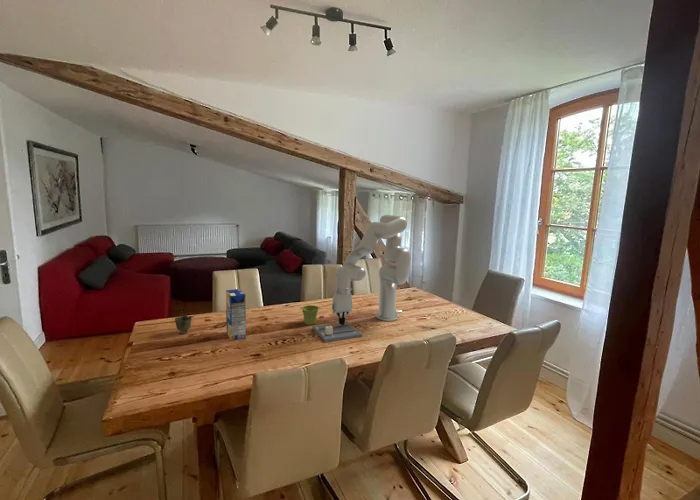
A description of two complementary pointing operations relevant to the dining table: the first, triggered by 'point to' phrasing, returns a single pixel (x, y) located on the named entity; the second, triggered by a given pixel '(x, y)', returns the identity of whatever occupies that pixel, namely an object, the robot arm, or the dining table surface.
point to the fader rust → (332, 323)
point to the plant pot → (310, 314)
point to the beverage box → (236, 314)
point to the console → (337, 332)
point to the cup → (183, 323)
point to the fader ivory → (328, 330)
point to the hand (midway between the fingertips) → (341, 323)
